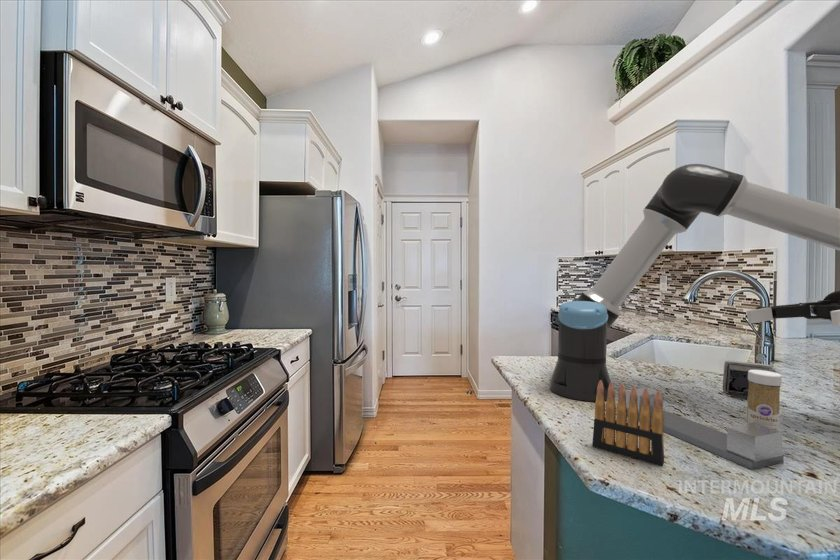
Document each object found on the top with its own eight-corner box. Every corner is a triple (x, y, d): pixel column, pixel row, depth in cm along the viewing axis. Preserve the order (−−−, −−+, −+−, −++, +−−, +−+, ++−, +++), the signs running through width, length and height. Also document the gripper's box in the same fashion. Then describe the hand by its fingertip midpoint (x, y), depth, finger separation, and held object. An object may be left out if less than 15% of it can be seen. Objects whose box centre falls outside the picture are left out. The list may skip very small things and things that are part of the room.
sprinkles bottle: (752, 447, 68) (754, 373, 68) (741, 437, 72) (743, 367, 72) (784, 452, 66) (787, 376, 66) (771, 441, 70) (774, 370, 70)
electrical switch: (768, 398, 96) (770, 363, 95) (773, 406, 92) (775, 369, 91) (721, 391, 101) (723, 358, 100) (724, 398, 97) (725, 363, 96)
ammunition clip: (592, 446, 67) (593, 380, 67) (594, 443, 69) (596, 377, 68) (662, 466, 61) (664, 392, 60) (664, 462, 62) (666, 390, 62)
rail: (621, 413, 84) (622, 390, 83) (648, 409, 86) (648, 387, 86) (752, 469, 60) (753, 437, 60) (783, 462, 63) (784, 431, 62)
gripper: (954, 326, 68) (883, 342, 62) (786, 321, 92) (723, 332, 86) (947, 285, 68) (876, 297, 62) (781, 291, 92) (719, 300, 86)
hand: (787, 317), depth 74 cm, fingers open, 13 cm apart
